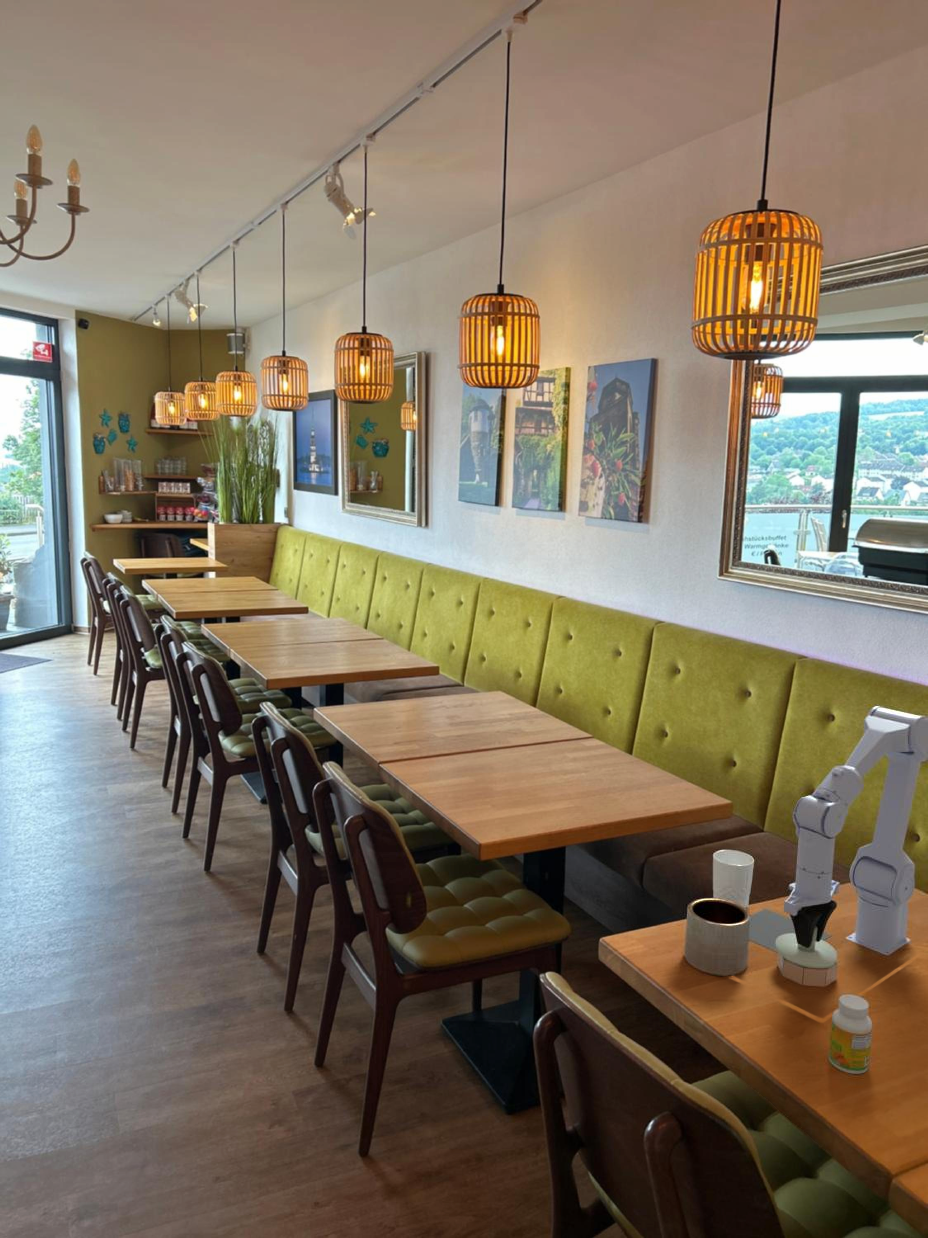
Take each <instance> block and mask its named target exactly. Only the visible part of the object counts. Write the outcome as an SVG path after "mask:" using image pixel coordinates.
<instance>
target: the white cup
mask: <svg viewBox="0 0 928 1238" xmlns="http://www.w3.org/2000/svg"><path fill="white" fill-rule="evenodd" d="M712 858H713V859H712V890H713V897H712V898H717V899H723V900H728V901H731V902H734V903H737V904H739V905H741V906H743V907H744V908H745V909H747V907H749V902H750V901H749V900H750V894H751V888H752V882H753V873H754V865H755V859H754V858H753V856H751V854H748V853H745V852H743V851H740V850H734V849H733V850H732V849H721V850H718V851H715V852H713V854H712Z"/></svg>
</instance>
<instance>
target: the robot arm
mask: <svg viewBox="0 0 928 1238" xmlns="http://www.w3.org/2000/svg"><path fill="white" fill-rule="evenodd" d="M862 727H863V728H862V729H863V735H862V736H861V739H860V740H859V742H858V743H857V744H856V746H855V748H854V749H853V751H852V752H851V754H850V756H849V757H848V759H847V760H846V762H845V764H844V765H836V766H833V768H831V771H830V772H829V773H828V774H827V776H826V777H825V778H824V779H823V780H822V781H821V782H820V784H819V785H818V787H817V788H816V789H815V790H814V791H813V793H812V794H811V795H807V796H803V797H801V798H800V799H798V800H797V802H796V804H795V807H794V811H793V812H792V821H793V823H794V826H795V835H796V837H797V838H798V841H797V842H798V845H797V857H796V869H795V882H793V883H790V884H789V885H788V889H789V890H790V891H791V893H790V894H789V896H788V898H786V899H785V900H784V902H783V913H786V914H788V915H789V916H790V917H789V918H790V919H792V922H793V925H794V929H795V934H796V939H797V944H799V945H802V946H804V947H806V948H809V947H810V946H811V943H812V939H813V934H814V929H815V926H816V927H817V936H816V942H819V941H820V940H821V938H822V935H823V932H825V928H826V926H827V923H828V921H829V919H830V918H831V915H832V914H833V912H834V911H835V910H836V908H837V905H838V903H837V902H836V901H835V900H833V897H834V895H837V894H839V892H840V884H841V883H840V882H838V881H835V880H834V879H833V869H834V868H833V867H834V860H835V859H834V857H835V845H836V836H838V835H839V833H841V832H842V830H843V827H844V824H845V822H846V821H845V820H846V818H847V816H848V813H849V811H848V809H849V808H850V806H851V805H852V804H853V802H854V801H855V800H856V798H857V797H858V796H859V794H860V793H861V792H862V791H863V789H864V781H863V778H864V777H865V776H866V775H867V774H868V773H869V771H871V770H872V769H873V768H874V766H876V765H877V764H878V762H879V761H880V760H881V759H882V758H883V757H884V756H885V755H886V757H887V758H888V760H889V761H888V766H887V771H886V776H885V781H884V785H883V788H882V789H883V790H882V794H881V800H880V804H879V810H878V813H877V817H876V818H877V819H876V823H875V828H874V833H873V838H872V842H871V843H868V844H866V845H864V846H861V847H859V848H857V852H856V855H855V858H854V860H853V862H852V863H851V866H850V869H849V880H850V883H851V885H852V886H853V887H854V888H855V889H854V890H855V891H854V892H855V893H856V894H857V895H858V898H857V914H856V924H855V931H854V932H853V933H852V934H850V935H847V936H846V937H845V939H846V940H848V941H850V942H853V943H855V944H858V945H860V946H863V947H865V948H867V949H871V950H873V951H875V952H878V953H880V954H882V955H885V956H890V955H891V954H893V953H894V952H896V951H897V950H898V949H900V948H902V947H903V946H904V945H906V944H908V943H910V942H911V939H910V938H908V937H906V935H907V925H908V916H909V906H908V903H907V902H908V901H910V899H911V898H912V896H913V893H914V892H915V891H914V890H915V886H916V883H915V881H916V880H915V871H916V864H915V863H914V862H913V861H912V860H911V858H910V857H909V855H908V854H907V853H906V852H905V851H904V849H903V848H904V843H905V839H906V838H905V837H906V834H907V829H908V825H909V824H908V823H909V821H910V816H911V815H910V814H911V810H912V805H913V801H914V796H915V791H916V786H917V781H918V777H919V772H920V769H921V762H926V761H928V716H925V715H918V714H913V713H909V712H905V711H904V712H903V711H899V710H894V709H890V708H887V707H886V708H885V707H883V706H882V705H881V706H880V705H878V706H877V705H876V706H874V707H872V708H871V709H870V710H869V711H868V713H867V714H866V717H865V718H864V720H863V726H862Z"/></svg>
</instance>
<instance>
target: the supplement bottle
mask: <svg viewBox="0 0 928 1238" xmlns="http://www.w3.org/2000/svg"><path fill="white" fill-rule="evenodd" d="M869 1007H870V1005H869V1002H868V1001H867V1000H866V999H864V998H863V997H861V996H859V995H855V994H850V993H849V994H842V995H840V996H839V998H838V1008H837V1009H835V1010H834V1011H833V1013H832V1016H831V1029H830V1038H829V1039H830V1042H829V1051H828V1058H829V1062H830V1063H831V1065H833V1066H834V1067H835V1068H836V1069H837V1070H839V1071H841V1072H844V1073H847V1074H851V1075H852V1074H853V1075H859V1074H860V1075H861V1074H864V1073H866V1072H867V1071H868V1070H869V1068H870V1067H869V1066H870V1060H871V1059H870V1058H871V1057H870V1056H871V1045H872V1035H873V1022H872V1020H871V1017H870V1016H869V1012H870V1011H869Z"/></svg>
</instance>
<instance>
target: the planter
mask: <svg viewBox="0 0 928 1238" xmlns="http://www.w3.org/2000/svg"><path fill="white" fill-rule="evenodd" d="M686 911H687V913H686V927H685V939H684V940H685V941H684V959H685V960H686V961H687V963H688V964H689V965H690V966H691V967H693V968H694V969H696V970H697V971H700V972H701V973H704V974H707V975H712V976H716V977H732V976H733V975H736V974H740V973H742V972H744V971H746V969H747V968H748V965H749V964H748V963H749V949H750V940H749V933H750V916H751V913H750V912H749V910H748V909H747V908H744V907H743V906H741V905H739V904H737V903H734V902H731V901H728V900H723V899H717V898H713V897H704V898H699V899H694V900H693V901H691V902H690V903H688V905H687V909H686Z"/></svg>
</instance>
